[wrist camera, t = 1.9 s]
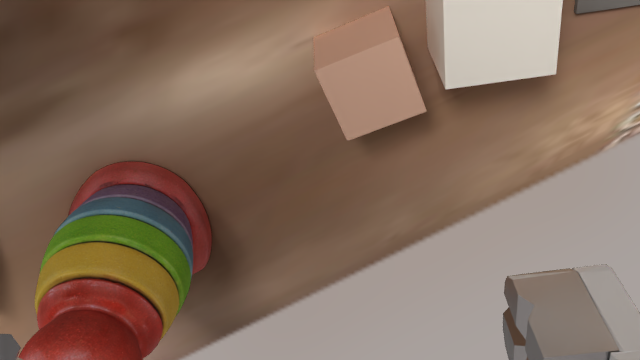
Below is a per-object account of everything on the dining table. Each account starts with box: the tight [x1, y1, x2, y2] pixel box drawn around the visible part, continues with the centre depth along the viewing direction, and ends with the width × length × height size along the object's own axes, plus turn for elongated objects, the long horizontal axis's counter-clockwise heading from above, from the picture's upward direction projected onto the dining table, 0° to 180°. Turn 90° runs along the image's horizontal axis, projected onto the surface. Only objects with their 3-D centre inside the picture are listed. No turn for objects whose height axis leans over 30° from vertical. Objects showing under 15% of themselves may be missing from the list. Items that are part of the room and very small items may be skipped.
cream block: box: [426, 0, 563, 89], centre depth 33 cm, size 6×6×6 cm
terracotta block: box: [314, 6, 426, 141], centre depth 36 cm, size 5×5×5 cm
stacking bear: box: [19, 162, 212, 360], centre depth 37 cm, size 11×10×18 cm
